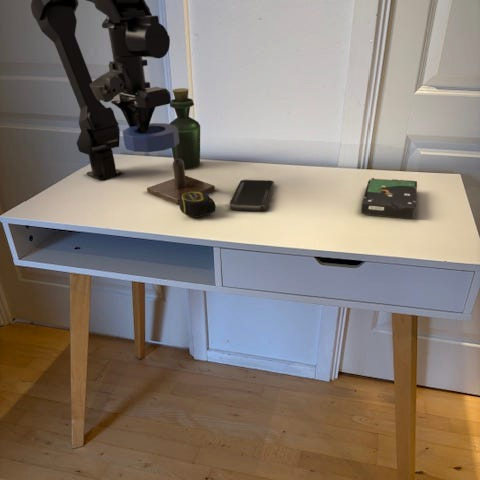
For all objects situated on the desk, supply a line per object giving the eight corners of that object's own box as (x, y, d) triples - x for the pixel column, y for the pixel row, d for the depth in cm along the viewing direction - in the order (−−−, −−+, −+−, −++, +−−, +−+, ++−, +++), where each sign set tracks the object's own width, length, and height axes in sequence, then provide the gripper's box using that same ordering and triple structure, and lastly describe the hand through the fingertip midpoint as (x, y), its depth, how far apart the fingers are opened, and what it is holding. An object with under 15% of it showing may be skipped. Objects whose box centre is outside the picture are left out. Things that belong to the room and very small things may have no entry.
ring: (114, 146, 104) (112, 131, 103) (156, 134, 111) (154, 120, 109) (147, 155, 98) (145, 139, 96) (189, 142, 104) (188, 127, 103)
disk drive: (414, 221, 96) (415, 192, 108) (416, 207, 95) (417, 179, 106) (360, 216, 99) (366, 188, 110) (361, 202, 97) (368, 176, 108)
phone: (228, 204, 102) (241, 179, 114) (229, 210, 103) (241, 184, 115) (266, 206, 101) (275, 180, 113) (266, 211, 101) (275, 185, 113)
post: (147, 192, 112) (142, 159, 108) (184, 179, 119) (181, 148, 114) (178, 205, 106) (174, 170, 102) (215, 190, 112) (213, 157, 108)
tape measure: (217, 217, 100) (216, 199, 98) (184, 222, 99) (182, 204, 96) (208, 204, 105) (207, 188, 103) (177, 209, 104) (175, 192, 102)
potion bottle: (205, 168, 125) (200, 91, 114) (173, 172, 123) (165, 94, 113) (200, 159, 131) (194, 85, 121) (170, 162, 130) (161, 88, 119)
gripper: (67, 56, 99) (84, 136, 108) (118, 64, 87) (132, 153, 96) (115, 50, 105) (127, 126, 114) (168, 56, 94) (177, 140, 103)
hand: (139, 136), depth 107 cm, fingers closed on ring, 2 cm apart
